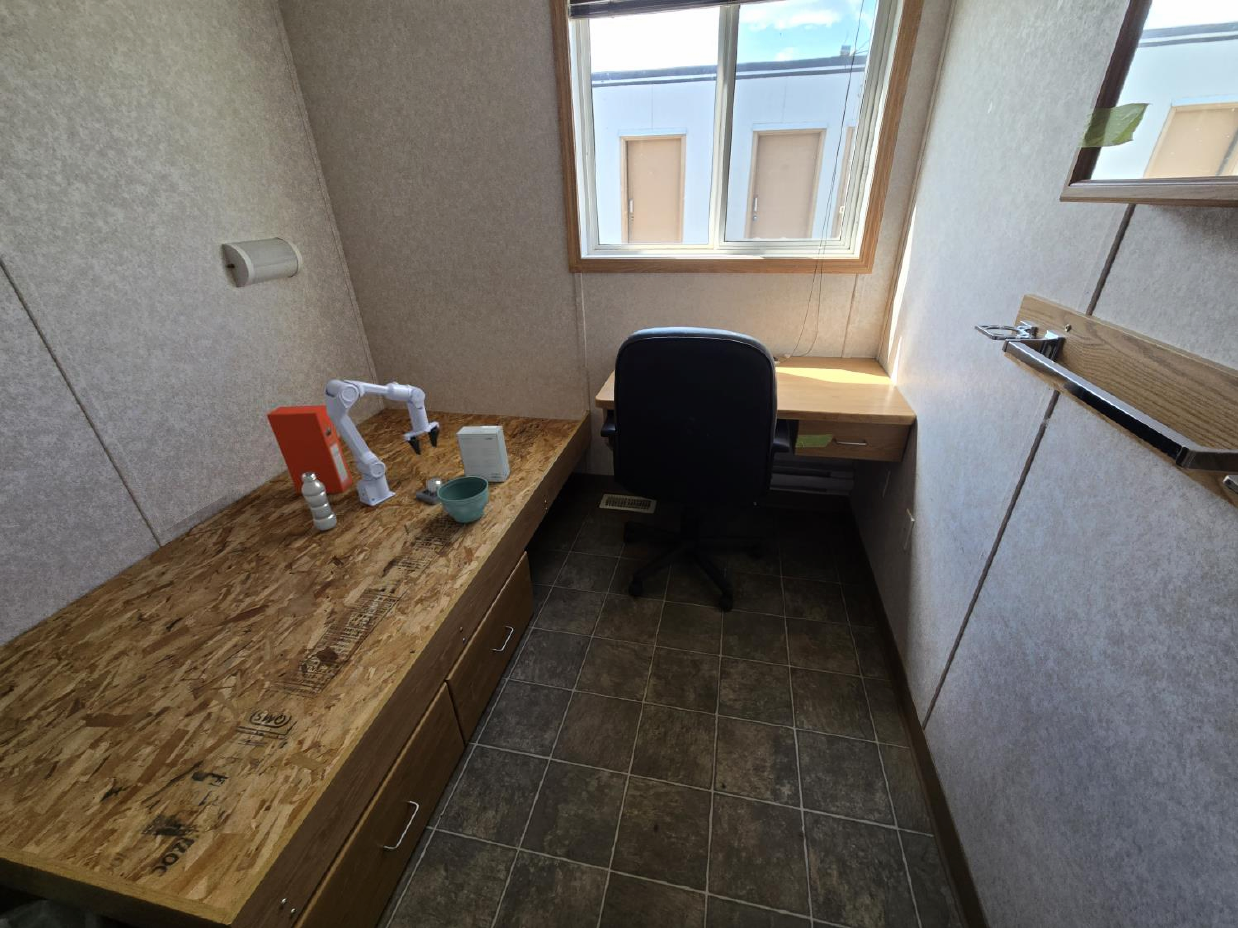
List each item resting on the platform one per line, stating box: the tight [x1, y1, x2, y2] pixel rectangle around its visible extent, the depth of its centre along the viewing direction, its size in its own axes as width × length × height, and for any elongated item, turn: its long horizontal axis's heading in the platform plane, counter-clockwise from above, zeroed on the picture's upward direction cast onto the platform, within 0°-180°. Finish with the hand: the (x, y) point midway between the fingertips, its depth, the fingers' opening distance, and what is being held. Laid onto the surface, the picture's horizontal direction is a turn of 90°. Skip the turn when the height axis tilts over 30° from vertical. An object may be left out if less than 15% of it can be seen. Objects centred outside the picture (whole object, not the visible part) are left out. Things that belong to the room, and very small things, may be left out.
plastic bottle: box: [302, 472, 338, 531], centre depth 162 cm, size 6×7×20 cm
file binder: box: [266, 404, 354, 495], centre depth 183 cm, size 8×17×32 cm, turn 89°
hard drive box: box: [455, 425, 511, 483], centre depth 188 cm, size 16×8×20 cm, turn 84°
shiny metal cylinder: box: [426, 477, 443, 497], centre depth 181 cm, size 5×5×6 cm
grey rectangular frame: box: [414, 482, 445, 506], centre depth 182 cm, size 10×10×2 cm
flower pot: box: [437, 476, 489, 524], centre depth 167 cm, size 16×16×11 cm
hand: (426, 450), depth 194 cm, fingers open, 7 cm apart
